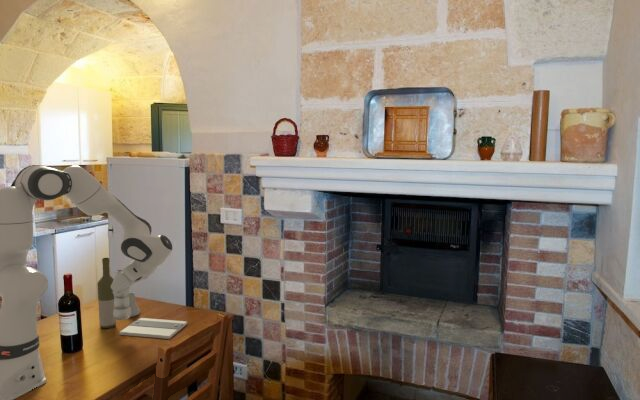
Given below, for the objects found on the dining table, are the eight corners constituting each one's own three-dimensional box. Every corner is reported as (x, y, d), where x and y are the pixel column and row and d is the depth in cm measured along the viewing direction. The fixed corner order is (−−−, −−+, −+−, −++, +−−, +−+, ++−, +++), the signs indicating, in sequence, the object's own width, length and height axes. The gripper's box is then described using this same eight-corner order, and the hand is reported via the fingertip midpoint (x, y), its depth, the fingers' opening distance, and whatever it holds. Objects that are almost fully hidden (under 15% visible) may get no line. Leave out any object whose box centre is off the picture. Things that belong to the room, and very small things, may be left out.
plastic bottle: (131, 320, 179) (129, 272, 177) (113, 322, 176) (111, 273, 174) (131, 315, 185) (129, 268, 183) (113, 317, 182) (111, 269, 180)
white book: (169, 338, 181) (169, 334, 181) (119, 334, 184) (119, 330, 184) (186, 324, 197) (186, 320, 197) (140, 320, 200) (140, 316, 200)
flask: (119, 316, 205) (119, 295, 204) (130, 310, 212) (130, 290, 210) (132, 318, 203) (132, 296, 201) (143, 312, 209) (143, 292, 208)
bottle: (120, 323, 196) (118, 256, 193) (111, 329, 189) (108, 260, 186) (104, 322, 196) (102, 256, 193) (95, 328, 189) (93, 259, 186)
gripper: (149, 256, 187) (129, 277, 190) (121, 269, 167) (98, 292, 169) (160, 267, 187) (139, 288, 189) (132, 281, 167) (109, 304, 169)
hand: (119, 290), depth 179 cm, fingers closed on plastic bottle, 6 cm apart
